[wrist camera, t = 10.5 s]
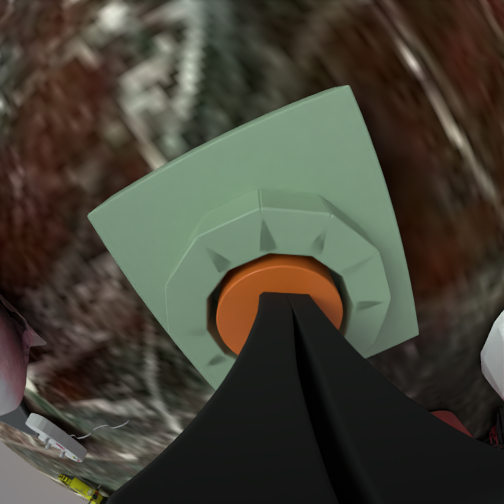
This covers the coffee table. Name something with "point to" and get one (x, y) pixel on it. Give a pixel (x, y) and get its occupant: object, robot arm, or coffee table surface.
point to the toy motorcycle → (84, 490)
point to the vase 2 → (494, 356)
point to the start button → (272, 280)
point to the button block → (265, 226)
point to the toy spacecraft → (499, 439)
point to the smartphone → (19, 419)
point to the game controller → (59, 437)
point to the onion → (14, 357)
